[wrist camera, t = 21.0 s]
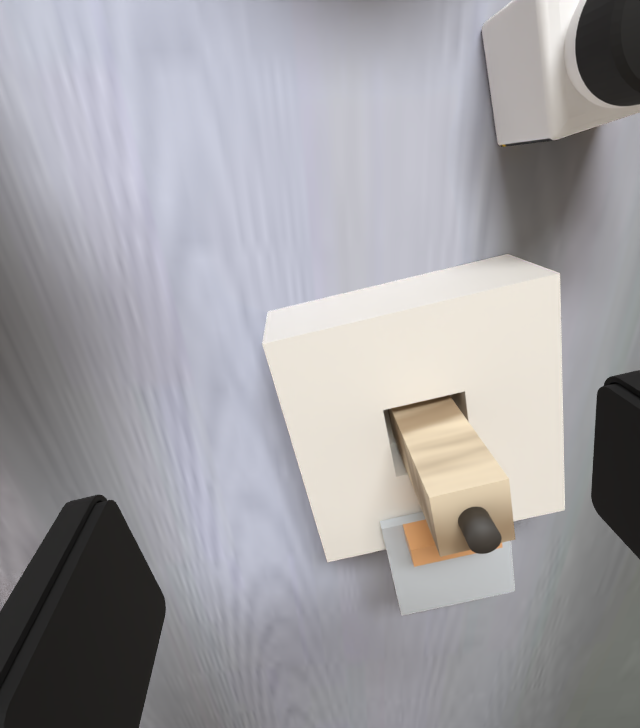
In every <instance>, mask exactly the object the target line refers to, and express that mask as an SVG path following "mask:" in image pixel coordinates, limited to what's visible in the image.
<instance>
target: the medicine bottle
mask: <svg viewBox="0 0 640 728" xmlns="http://www.w3.org/2000/svg"><path fill="white" fill-rule="evenodd" d="M482 36H483V43H484V50H485V57H486V64H487V71H488V78H489V86H490V93H491V100H492V107H493V114H494V121H495V128H496V136H497V142H498V145H500V146H501V147H504V146H512V145H520V144H528V143H536V142H544V141H552V140H558V139H561V138H564V137H567V136H570V135H573V134H576V133H579V132H582V131H585V130H588V129H591V128H594V127H597V126H600V125H603V124H606V123H609V122H612V121H615V120H618V119H621V118H624V117H627V116H630V115H633V114H636V113H639V112H640V0H513V1H511V2H510V3H509V4H508V5H506V6H505V7H504V8H502V9H501V10H500V11H499V12H497V13H496V14H495V15H493V16H492V17H491V18H490V19H488V20H487V21H486V22H485V23H484V24H483V26H482Z"/></svg>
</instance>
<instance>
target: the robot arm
mask: <svg viewBox="0 0 640 728" xmlns="http://www.w3.org/2000/svg"><path fill="white" fill-rule="evenodd" d="M591 498H592V502H593V505H594V508H595V510H596V511H597V513H598V514H599V515H600V517H601V518H602V519H603V520H604V521H605V522H606V523H607V524H608V525H609V526H610V528H611V529H612V530H613V531H614V532H615V533H616V534H617V535H618V536H619V537H620V538H621V539H622V541H623V542H624V543H625V544H626V545H627V546H628V547H629V548H630V549H631V550H632V551H633V553H634V554H635V555H636V556H637V557H638V558H639V559H640V370H638V371H633V372H629V373H625V374H620V375H616V376H612V377H609V378H608V379H607V380H606V381H605V383H604V386H603V387H601V388H599V390H598V393H597V405H596V422H595V440H594V457H593V474H592V492H591ZM165 610H166V606H165V599H164V596H163V593H162V591H161V589H160V587H159V585H158V583H157V582H156V580H155V578H154V576H153V574H152V572H151V570H150V568H149V566H148V564H147V562H146V560H145V558H144V556H143V554H142V552H141V550H140V548H139V546H138V544H137V542H136V540H135V538H134V537H133V535H132V533H131V531H130V529H129V527H128V525H127V523H126V521H125V519H124V517H123V515H122V513H121V511H120V509H119V507H118V505H117V504H116V502H114V501H113V500H108V501H107V499H106V498H105V497H104V496H102V495H95V496H91V497H86V498H82V499H78V500H73V501H70V502H68V503H66V504H65V506H64V507H63V508H62V510H61V512H60V513H59V515H58V517H57V518H56V520H55V522H54V523H53V525H52V527H51V528H50V530H49V532H48V533H47V535H46V537H45V538H44V540H43V542H42V543H41V545H40V547H39V548H38V550H37V552H36V553H35V555H34V557H33V558H32V560H31V562H30V563H29V565H28V566H27V568H26V570H25V571H24V573H23V575H22V576H21V578H20V580H19V581H18V583H17V585H16V586H15V588H14V590H13V591H12V593H11V595H10V596H9V598H8V600H7V601H6V603H5V605H4V606H3V608H2V610H1V611H0V728H139V724H140V720H141V716H142V711H143V707H144V703H145V699H146V694H147V690H148V686H149V682H150V677H151V673H152V669H153V665H154V660H155V656H156V652H157V648H158V643H159V639H160V635H161V631H162V626H163V622H164V618H165Z"/></svg>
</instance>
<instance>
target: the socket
mask: <svg viewBox="0 0 640 728" xmlns="http://www.w3.org/2000/svg"><path fill="white" fill-rule="evenodd" d="M262 345H263V348H264V351H265V355H266V358H267V361H268V365H269V368H270V371H271V375H272V378H273V381H274V385H275V388H276V391H277V395H278V398H279V401H280V405H281V408H282V411H283V415H284V418H285V422H286V425H287V428H288V432H289V435H290V438H291V442H292V445H293V448H294V452H295V455H296V458H297V462H298V465H299V468H300V472H301V475H302V478H303V482H304V485H305V488H306V492H307V495H308V498H309V502H310V505H311V508H312V512H313V515H314V519H315V522H316V525H317V529H318V532H319V535H320V539H321V542H322V545H323V549H324V552H325V555H326V559H327V562H331V561H336V560H340V559H345V558H349V557H354V556H358V555H363V554H368V553H372V552H377V551H381V550H386V546H385V542H384V538H383V533H382V529H381V524H380V521H383V520H387V519H392V518H396V517H401V516H405V515H410V514H414V513H419V512H423V511H422V509H421V506H420V504H419V501H418V498H417V496H416V493H415V491H414V488H413V486H412V483H411V480H410V478H409V475H408V473H407V470H406V468H405V465H404V462H403V460H402V457H401V455H400V452H399V450H398V447H397V445H396V442H395V439H394V437H393V433H392V428H391V423H390V419H389V414H388V409H391V408H395V407H399V406H404V405H408V404H412V403H417V402H421V401H425V400H430V399H434V398H438V397H443V396H447V395H450V397H451V398H452V400H453V401H454V402H455V404H456V405H457V407H458V408H459V409H460V411H461V412H462V414H463V415H464V416H465V418H466V419H467V421H468V422H469V423H470V425H471V426H472V428H473V429H474V430H475V432H476V433H477V435H478V436H479V437H480V439H481V440H482V442H483V443H484V444H485V446H486V447H487V449H488V450H489V451H490V453H491V454H492V456H493V457H494V458H495V460H496V461H497V463H498V464H499V465H500V467H501V468H502V470H503V471H504V472H505V474H506V475H507V477H508V478H509V483H510V492H511V502H512V512H513V521H517V520H522V519H526V518H531V517H536V516H540V515H545V514H549V513H554V512H558V511H563V510H565V490H564V442H563V394H562V346H561V298H560V273H558V272H555V271H553V270H550V269H547V268H545V267H542V266H539V265H536V264H534V263H531V262H528V261H526V260H523V259H520V258H518V257H515V256H512V255H510V254H505V255H501V256H497V257H492V258H488V259H484V260H480V261H476V262H472V263H467V264H463V265H459V266H455V267H451V268H447V269H442V270H438V271H434V272H430V273H426V274H422V275H417V276H413V277H409V278H405V279H401V280H397V281H392V282H388V283H384V284H380V285H376V286H372V287H367V288H363V289H359V290H355V291H351V292H347V293H342V294H338V295H334V296H330V297H326V298H322V299H317V300H313V301H309V302H305V303H301V304H297V305H292V306H288V307H284V308H280V309H276V310H272V311H268V313H267V319H266V325H265V331H264V337H263V343H262Z"/></svg>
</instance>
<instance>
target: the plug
mask: <svg viewBox="0 0 640 728" xmlns="http://www.w3.org/2000/svg"><path fill="white" fill-rule="evenodd" d="M388 414H389V419H390V423H391V428H392V433H393V437H394V439H395V442H396V445H397V447H398V450H399V452H400V455H401V457H402V460H403V462H404V465H405V468H406V470H407V473H408V475H409V478H410V480H411V483H412V486H413V488H414V491H415V493H416V496H417V498H418V501H419V504H420V506H421V509H422V511H423V514H424V516H425V519H426V521H427V524H428V527H429V529H430V532H431V534H432V537H433V539H434V542H435V545H436V547H437V550H438V552H439V555H440V557H442V556H446V555H450V554H455V553H459V552H463V551H468V550H472V551H473V552H475V553H478V554H486V553H490V552H492V551H494V550H495V549H496V548H497V547H498V546H499V545H500V543H502V542H507V541H511V540H515V532H514V522H513V512H512V502H511V492H510V483H509V478H508V477H507V475H506V474H505V472H504V471H503V470H502V468H501V467H500V465H499V464H498V463H497V461H496V460H495V458H494V457H493V456H492V454H491V453H490V451H489V450H488V449H487V447H486V446H485V444H484V443H483V442H482V440H481V439H480V437H479V436H478V435H477V433H476V432H475V430H474V429H473V428H472V426H471V425H470V423H469V422H468V421H467V419H466V418H465V416H464V415H463V414H462V412H461V411H460V409H459V408H458V407H457V405H456V404H455V402H454V401H453V400H452V398H451V397H450V395H447V396H443V397H438V398H434V399H430V400H425V401H421V402H417V403H412V404H408V405H404V406H399V407H395V408H391V409H388Z"/></svg>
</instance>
